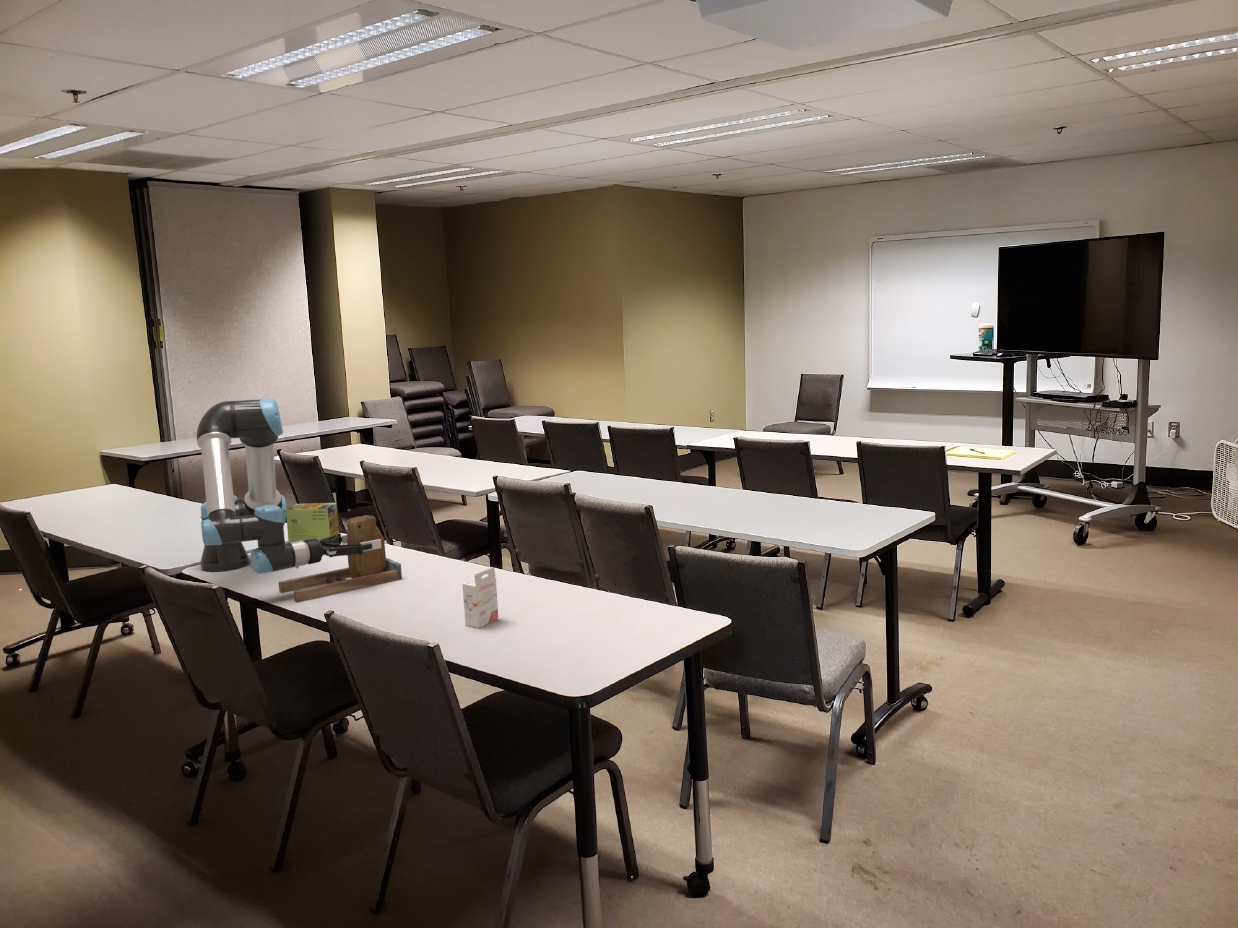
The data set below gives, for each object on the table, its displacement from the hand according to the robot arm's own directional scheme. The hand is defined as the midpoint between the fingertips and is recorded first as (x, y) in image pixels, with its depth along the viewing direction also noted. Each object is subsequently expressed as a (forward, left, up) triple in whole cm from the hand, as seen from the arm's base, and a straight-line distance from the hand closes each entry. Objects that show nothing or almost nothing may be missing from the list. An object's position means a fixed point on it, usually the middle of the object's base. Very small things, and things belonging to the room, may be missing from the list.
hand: (371, 539), depth 292 cm
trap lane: (0, -11, -12) cm, 17 cm away
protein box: (-53, +1, -13) cm, 54 cm away
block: (0, -2, -12) cm, 13 cm away
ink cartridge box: (+61, +3, -13) cm, 63 cm away
